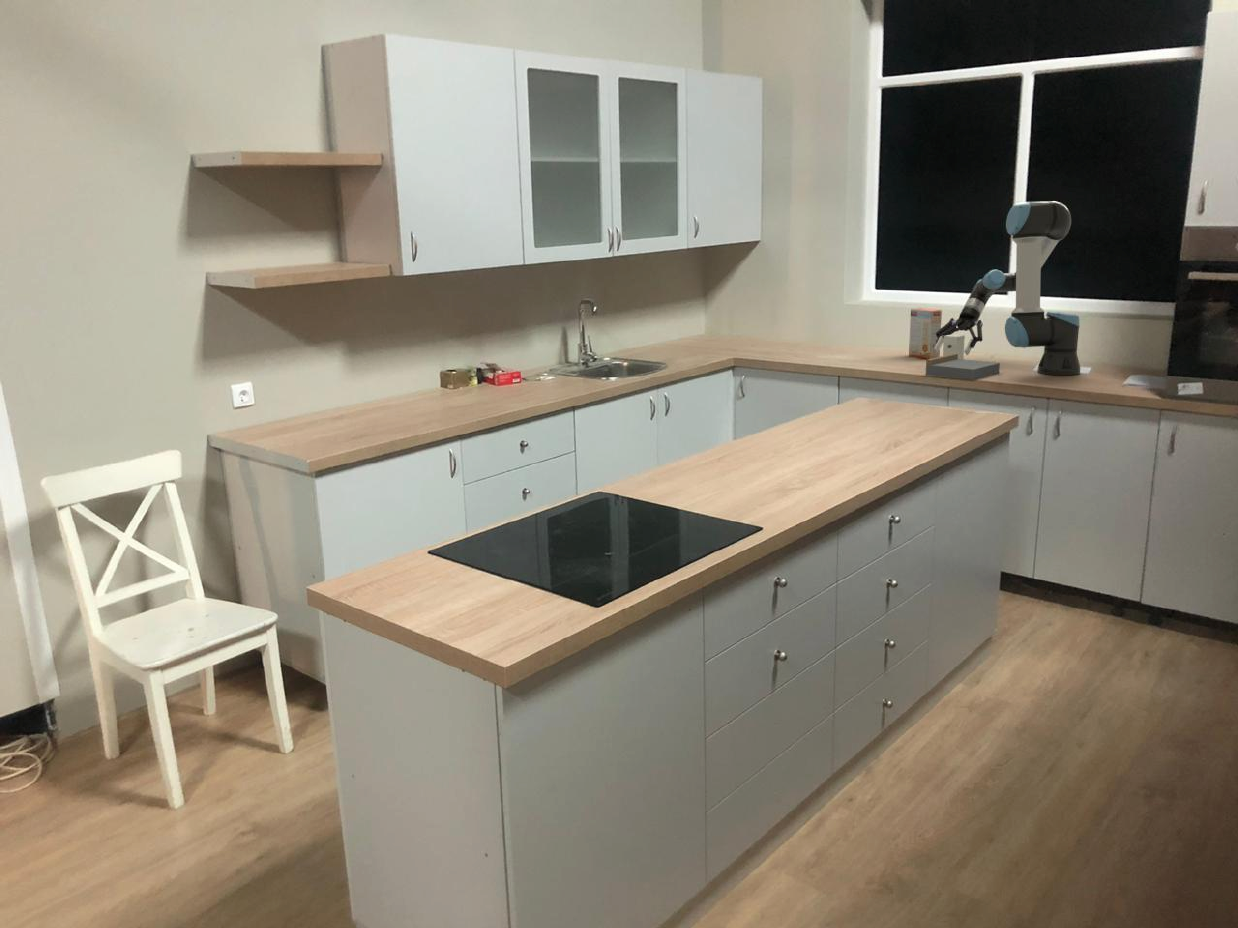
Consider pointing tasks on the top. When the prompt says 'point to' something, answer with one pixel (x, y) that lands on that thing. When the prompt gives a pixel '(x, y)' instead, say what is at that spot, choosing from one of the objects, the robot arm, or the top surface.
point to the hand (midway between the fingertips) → (950, 351)
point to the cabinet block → (954, 345)
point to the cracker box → (924, 332)
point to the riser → (960, 367)
